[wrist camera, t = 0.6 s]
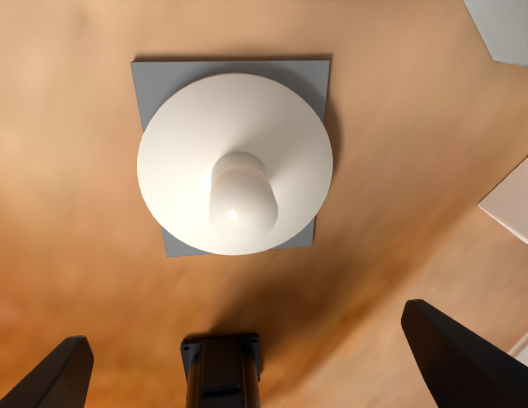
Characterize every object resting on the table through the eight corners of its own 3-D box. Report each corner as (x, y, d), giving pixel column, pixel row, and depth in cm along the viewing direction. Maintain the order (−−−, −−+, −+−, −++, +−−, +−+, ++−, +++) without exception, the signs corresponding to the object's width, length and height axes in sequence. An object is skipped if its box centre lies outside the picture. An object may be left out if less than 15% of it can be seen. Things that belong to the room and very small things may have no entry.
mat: (310, 242, 23) (311, 246, 22) (167, 253, 22) (166, 257, 21) (327, 59, 17) (329, 60, 16) (132, 61, 16) (130, 62, 15)
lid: (319, 239, 22) (344, 291, 18) (158, 251, 21) (142, 310, 17) (337, 71, 17) (379, 86, 12) (121, 73, 15) (84, 91, 11)
